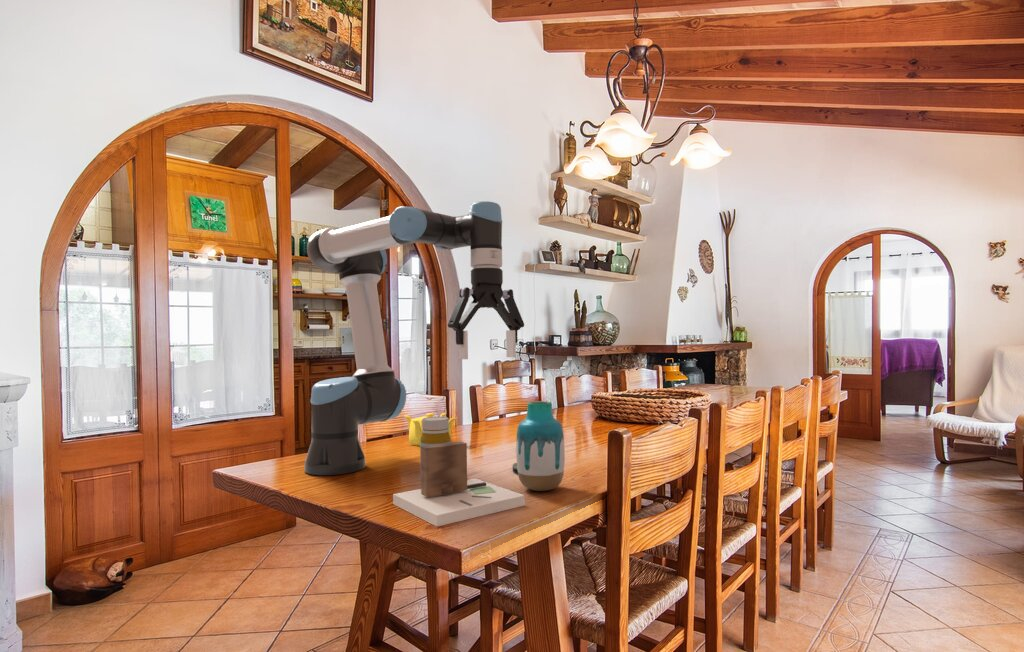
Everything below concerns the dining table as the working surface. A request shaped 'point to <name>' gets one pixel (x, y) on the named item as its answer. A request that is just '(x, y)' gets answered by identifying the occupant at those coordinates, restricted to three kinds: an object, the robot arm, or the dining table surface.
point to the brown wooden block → (444, 469)
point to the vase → (540, 448)
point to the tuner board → (459, 503)
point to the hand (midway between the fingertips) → (487, 358)
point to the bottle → (435, 431)
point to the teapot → (416, 428)
